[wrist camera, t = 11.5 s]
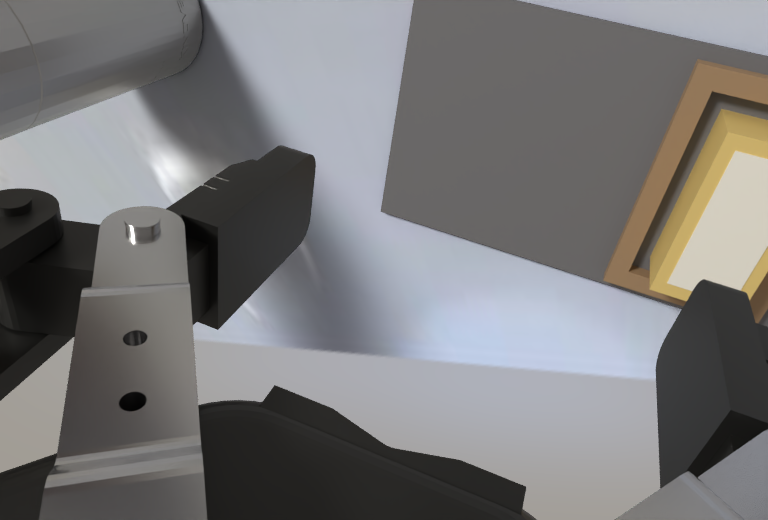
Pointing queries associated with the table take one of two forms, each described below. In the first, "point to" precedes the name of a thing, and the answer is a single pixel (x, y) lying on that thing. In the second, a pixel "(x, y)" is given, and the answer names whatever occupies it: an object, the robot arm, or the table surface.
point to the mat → (558, 133)
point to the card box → (719, 214)
